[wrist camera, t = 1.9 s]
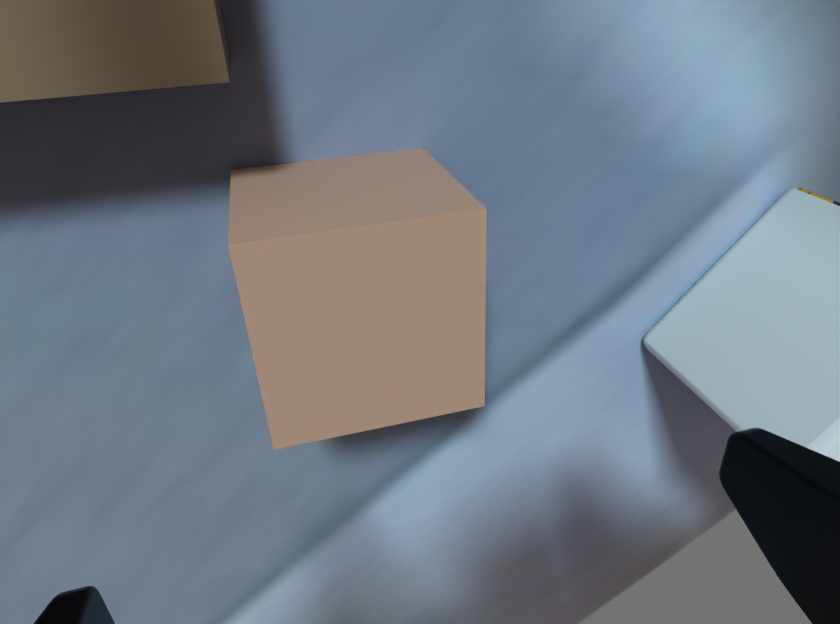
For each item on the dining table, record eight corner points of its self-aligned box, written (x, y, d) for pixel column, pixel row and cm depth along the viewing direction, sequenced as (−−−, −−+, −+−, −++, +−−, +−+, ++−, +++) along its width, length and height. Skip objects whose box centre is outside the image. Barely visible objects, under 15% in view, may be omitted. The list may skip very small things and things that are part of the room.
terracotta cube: (422, 147, 16) (486, 208, 12) (429, 308, 19) (484, 405, 15) (230, 168, 15) (227, 244, 11) (265, 336, 18) (273, 449, 14)
